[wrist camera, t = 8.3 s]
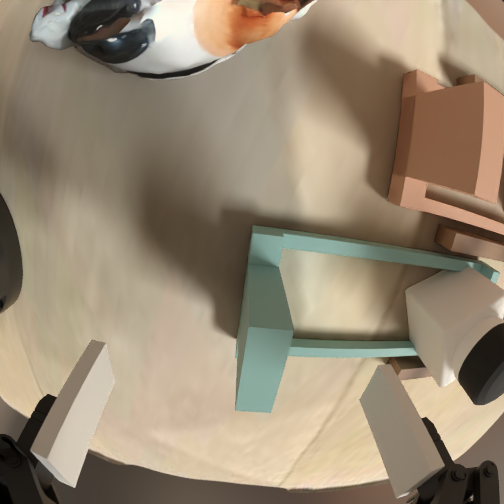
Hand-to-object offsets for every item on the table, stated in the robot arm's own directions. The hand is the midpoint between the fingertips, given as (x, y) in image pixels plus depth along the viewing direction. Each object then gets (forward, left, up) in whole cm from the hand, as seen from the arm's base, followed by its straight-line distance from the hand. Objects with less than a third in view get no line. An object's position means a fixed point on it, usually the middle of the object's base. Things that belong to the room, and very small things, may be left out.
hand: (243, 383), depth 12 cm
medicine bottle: (+19, 0, -11) cm, 21 cm away
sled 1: (+11, 0, -10) cm, 15 cm away
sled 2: (+21, +13, -10) cm, 27 cm away
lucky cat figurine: (-7, +20, -10) cm, 24 cm away
